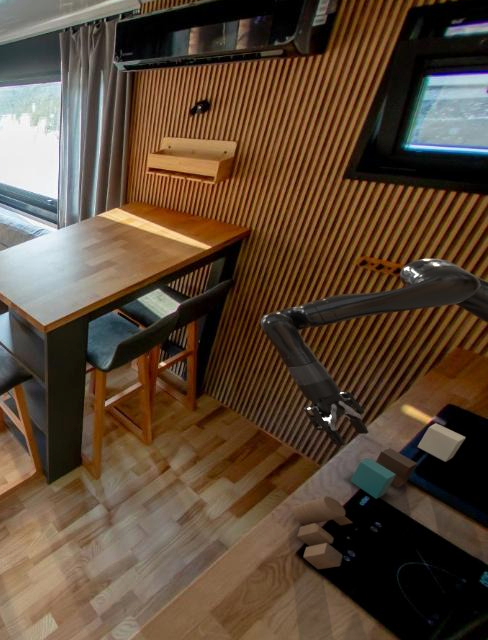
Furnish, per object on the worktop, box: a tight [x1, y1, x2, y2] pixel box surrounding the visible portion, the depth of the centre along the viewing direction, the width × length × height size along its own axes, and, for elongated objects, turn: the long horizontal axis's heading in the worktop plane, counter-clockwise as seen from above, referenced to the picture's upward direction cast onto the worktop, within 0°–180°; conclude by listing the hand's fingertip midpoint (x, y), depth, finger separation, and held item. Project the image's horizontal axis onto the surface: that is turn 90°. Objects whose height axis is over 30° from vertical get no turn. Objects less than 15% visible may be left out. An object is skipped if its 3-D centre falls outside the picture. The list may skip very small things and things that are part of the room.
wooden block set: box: [291, 496, 353, 570], centre depth 84 cm, size 18×9×10 cm, turn 130°
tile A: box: [417, 422, 466, 463], centre depth 97 cm, size 3×5×8 cm, turn 19°
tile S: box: [350, 457, 396, 500], centre depth 92 cm, size 3×5×8 cm, turn 17°
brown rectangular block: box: [375, 447, 418, 489], centre depth 93 cm, size 3×5×8 cm, turn 17°
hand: (352, 438), depth 93 cm, fingers open, 8 cm apart
